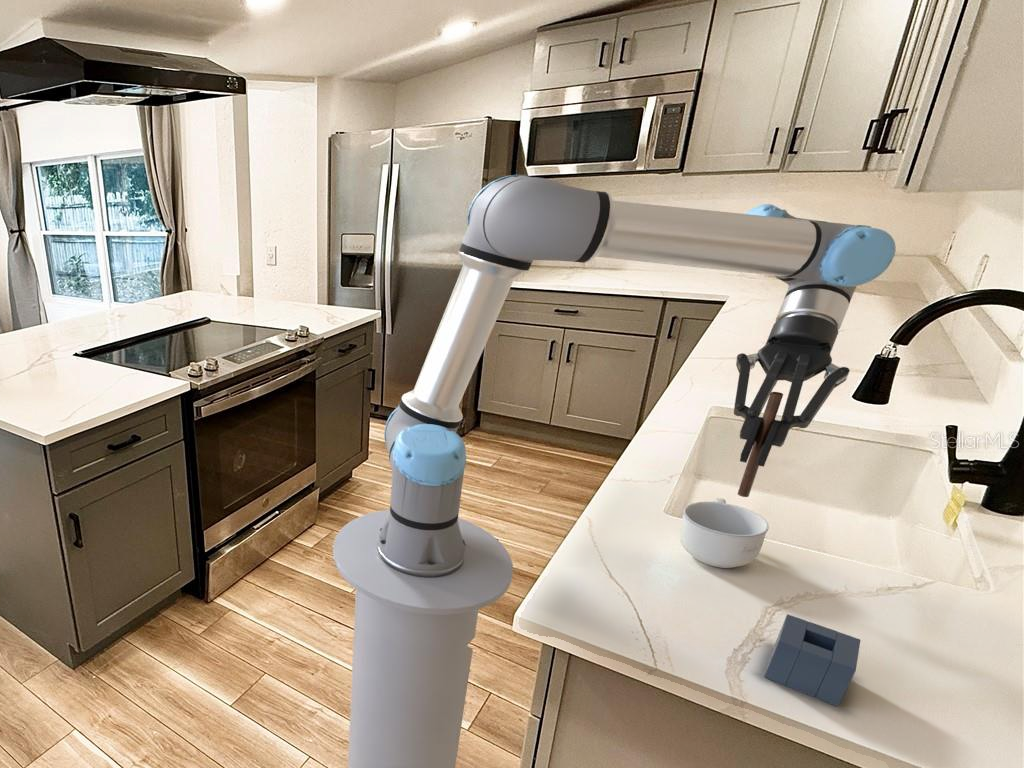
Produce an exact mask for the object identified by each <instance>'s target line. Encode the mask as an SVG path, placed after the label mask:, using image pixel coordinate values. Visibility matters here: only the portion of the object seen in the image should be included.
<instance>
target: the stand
mask: <svg viewBox="0 0 1024 768" xmlns="http://www.w3.org/2000/svg"><path fill="white" fill-rule="evenodd" d="M860 645H861V639H860V638H857V637H855V636H851V635H849V634H846V633H844V632H840V631H837V630H834V629H832V628H829V627H826V626H823V625H820V624H818V623H814V622H812V621H808V620H806V619H803V618H800V617H796V616H795V615H791V614H788V613H787V614H786V616H785V619H784V621H783V623H782V625H781V628H780V630H779V632H778V636H777V638H776V640H775V642H774V645H773V648H772V650H771V653H770V657H769V660H768V663H767V667H766V669H765V673H764V678H766V679H768V680H771V681H773V682H775V683H778V684H780V685H782V686H786V687H788V688H790V689H793V690H796V691H798V692H800V693H802V694H805V695H807V696H810V697H812V698H815V699H818V700H819V701H822V702H825V703H827V704H829V705H831V706H835V707H837V708H838V707H839V706H840V703H841V702H842V700H843V698H844V696H845V694H846V692H847V689H848V687H849V685H850V684H851V681H852V680H853V678H854V675H855V673H856V671H857V667H858V666H857V665H858V659H859V652H860Z"/></svg>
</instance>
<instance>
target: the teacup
mask: <svg viewBox="0 0 1024 768" xmlns="http://www.w3.org/2000/svg"><path fill="white" fill-rule="evenodd" d="M769 528H770V527H769V523H768V521H767V520H766V519H765V518H764V517H763V516H762V515H760V514H759V513H756V512H754V511H753V510H750V509H749V508H748V509H747V508H745V507H741V506H738V505H735V504H729V503H727V501H726V499H724V498H721V497H714V498H713V499H712V501H698V502H692V503H690V504H688V505H686V506H685V507H684V509H683V516H682V521H681V526H680V533H679V539H680V543H681V546H682V548H684V550H685V551H686V552H687V553H689V554H690V555H691V557H693V558H694V559H696V561H698V562H701V563H702V564H705V565H708V566H710V567H711V566H712V567H715V568H721V569H733V568H737V567H742V566H747V565H749V564H751V563H753V562H754V560H756V559H757V558H758V556H759V555H760V552H761V550H762V547H763V544H764V541H765V537H766V534H767V532H768V531H769Z"/></svg>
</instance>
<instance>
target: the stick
mask: <svg viewBox="0 0 1024 768" xmlns="http://www.w3.org/2000/svg"><path fill="white" fill-rule="evenodd" d="M783 397H784V393H782V392H779V391H772V392H771V393H770V396H769V398H768V400H767V402H766V404H765V405H766V406H765V408H764V411H763V415H762V417H763V418H762V421H761V424H760V427H759V430H758V433H757V437H756V440H755V442H754V445H753V447H752V450H751V452H750V455H749V457H748V459H747V462H746V466H745V470H744V472H743V475H742V478H741V481H740V485H739V488H738V491H737V496H739V497H742V498H748V497H750V494H751V492H752V491H751V490H752V489H753V488H752V487H753V485H754V482H755V479H756V476H757V473H758V470H759V468H760V466H758V465H757V464H758V460H759V456H760V454H761V451H762V449H763V446H764V444H765V441H766V439H767V436H768V434H769V431H770V429H771V426H772V424H773V421H774V420H776V417H777V414H778V412H779V408H780V406H781V402H782V399H783Z"/></svg>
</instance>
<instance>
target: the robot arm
mask: <svg viewBox="0 0 1024 768" xmlns="http://www.w3.org/2000/svg"><path fill="white" fill-rule="evenodd" d="M896 250H897V249H896V242H895V239H894V238H893V236H892V235H891V234H890V233H888V232H887V231H886V230H883V229H880V228H876V227H872V226H871V225H865V224H848V223H840V222H831V221H826V220H824V221H823V220H816V219H810V218H809V219H808V218H801V217H797V216H794V215H791V214H790V213H789V212H788V211H787V209H781V208H779V207H778V206H775V205H773V204H771V203H765V204H760V205H758V206H755V207H753V208H752V209H750V210H748V211H746V212H745V213H741V212H740V213H739V212H729V211H720V210H719V211H718V210H711V209H710V210H709V209H699V208H690V207H678V206H671V205H670V206H669V205H661V204H649V203H639V202H630V201H621V200H614V199H613V197H612V196H611V194H610V193H609V192H607V191H600V190H591V189H586V188H581V187H577V186H572V185H568V184H565V183H561V182H558V181H554V180H551V179H548V178H544V177H538V176H537V177H536V176H534V177H533V176H527V175H522V174H512V175H511V174H510V175H506V176H503V177H500V178H497V179H495V180H493V181H491V182H489V183H488V184H486V185H484V187H482V189H480V191H478V193H477V194H476V195H475V196H474V198H473V200H472V201H471V204H470V206H469V208H468V213H467V228H466V233H465V234H464V236H463V239H462V242H461V244H460V247H459V250H458V255H459V257H460V259H461V261H462V267H461V270H460V272H459V273H458V277H457V280H456V283H455V285H454V287H453V290H452V292H451V295H450V297H449V300H448V303H447V305H446V307H445V310H444V312H443V315H442V318H441V320H440V323H439V325H438V327H437V330H436V332H435V335H434V338H433V340H432V343H431V345H430V347H429V350H428V352H427V354H426V357H425V360H424V363H423V365H422V367H421V370H420V373H419V375H418V378H417V380H416V383H415V384H414V385H415V386H414V388H413V389H412V390H411V391H408V392H405V393H403V394H402V396H401V398H400V401H399V402H398V405H397V407H396V408H395V409H394V410H393V411H392V412H391V413H390V415H389V416H388V417H387V418H388V419H387V420H386V424H385V427H384V433H383V434H384V436H383V437H384V443H385V446H386V450H387V455H388V461H389V464H390V465H389V466H390V471H391V486H390V487H391V488H390V502H389V504H390V507H389V509H390V513H389V515H388V517H387V520H386V522H385V524H384V526H383V528H381V529H380V531H381V532H380V534H379V538H378V544H377V551H378V554H379V556H380V558H381V559H382V561H383V562H384V563H386V564H387V565H388V566H390V567H391V568H393V569H395V570H397V571H399V572H401V573H404V574H407V575H411V576H416V577H424V578H435V577H442V576H446V575H449V574H452V573H454V572H456V571H457V570H458V569H460V567H461V566H462V565H463V562H464V556H465V549H464V545H465V542H464V540H463V539H462V536H461V532H460V528H459V524H458V518H459V512H460V505H461V498H462V490H463V481H464V476H465V475H464V473H465V469H466V465H467V454H466V452H467V449H466V444H465V442H464V440H463V438H462V437H461V436H460V434H458V433H457V432H458V430H459V428H460V425H461V422H462V421H463V417H464V416H463V413H462V410H461V409H460V403H461V401H462V399H463V397H464V394H465V392H466V390H467V388H468V386H469V383H470V381H471V379H472V376H473V374H474V372H475V369H476V367H477V365H478V363H479V361H480V358H481V356H482V354H483V352H484V349H485V348H486V347H485V346H486V345H487V343H488V340H489V338H490V335H491V333H492V331H493V328H494V327H495V325H496V322H497V320H498V317H499V315H500V312H501V310H502V309H503V306H504V303H505V301H506V300H507V299H506V298H507V297H508V294H509V292H510V289H511V288H512V285H513V284H514V281H515V280H516V279H517V278H519V277H521V276H523V275H525V274H527V273H528V272H529V271H530V268H531V267H532V264H533V261H553V262H554V261H556V262H558V261H559V262H573V263H582V264H586V263H587V264H588V263H589V262H590V261H592V260H594V259H595V258H604V259H605V258H606V259H613V260H622V261H633V262H634V261H635V262H643V263H651V264H652V263H653V264H659V265H661V264H662V265H671V266H679V267H680V266H681V267H688V268H689V267H690V268H700V269H709V270H717V271H726V272H727V271H728V272H737V273H745V274H753V275H766V276H774V277H775V278H776V279H777V280H779V281H781V282H783V283H785V284H787V285H788V287H787V290H786V293H785V296H784V298H783V300H782V303H781V305H780V308H779V311H778V313H777V315H776V319H775V322H774V323H773V325H772V328H771V330H770V333H769V335H768V337H767V340H766V343H765V344H764V346H763V347H761V348H760V349H759V350H758V351H757V353H752V354H746V353H739V354H737V356H736V360H735V365H736V369H737V371H738V381H737V387H736V394H735V399H734V406H733V414H734V416H736V417H741V418H743V419H744V421H743V423H742V425H741V428H740V431H739V439H741V440H746V441H745V443H744V446H743V448H742V451H741V452H740V459H739V462H741V463H746V464H747V463H748V460H749V457H750V454H751V451H752V448H753V445H754V442H755V440H756V437H757V433H758V430H759V427H760V424H761V421H762V418H763V416H760V415H761V413H762V411H763V409H764V407H765V405H766V404H767V402H768V399H769V396H770V393H771V392H773V390H774V388H775V387H776V385H777V383H778V382H779V381H786V382H789V383H791V384H790V387H789V391H788V394H787V397H786V402H785V405H784V408H783V412H782V414H781V419H780V420H778V419H775V420H774V421H773V424H772V426H771V429H770V431H769V434H768V436H767V439H766V441H765V444H764V446H763V449H762V451H761V454H760V456H759V460H758V464H757V465H758V466H759V467H763V468H765V465H766V462H767V459H768V457H769V455H770V452H771V450H772V447H773V446H774V447H778V448H782V446H783V445H784V444H785V441H786V439H787V436H788V434H789V431H790V430H792V429H794V428H800V429H806V428H808V427H809V425H811V423H812V421H813V420H814V419H815V417H816V415H817V414H818V412H819V411H820V410H821V408H822V407H823V405H824V404H825V402H826V401H827V399H828V398H829V397H830V395H831V394H832V392H833V391H834V389H835V388H837V387H838V386H840V385H841V384H843V383H845V382H846V381H847V379H848V377H849V373H850V368H849V367H847V366H841V367H839V366H838V365H836V364H834V363H832V362H833V358H832V356H831V353H832V350H833V348H834V345H835V343H836V339H837V337H838V335H839V330H840V329H841V327H842V324H843V322H844V319H845V317H846V314H847V312H848V309H849V307H850V303H851V301H852V299H853V296H854V293H855V291H856V290H857V289H856V288H857V287H858V286H862V285H865V284H868V283H870V282H872V281H875V280H876V279H877V278H878V277H880V276H881V275H883V273H885V272H886V270H888V269H889V267H890V265H891V263H893V260H894V258H895V255H896ZM756 363H759V365H760V366H761V368H762V370H763V371H764V373H765V377H764V380H763V381H762V383H761V385H760V386H759V388H758V391H757V393H756V395H755V396H754V399H753V401H752V403H751V404H750V407H749V406H747V405H746V402H747V401H746V400H747V394H748V387H749V382H750V381H749V380H750V375H751V374H750V373H751V370H752V369H754V368H755V367H756ZM823 372H825V373H824V376H823V379H824V380H823V381H822V383H821V384H820V385H819V387H818V388H817V390H816V391H815V393H814V395H813V396H812V397H811V399H810V400H809V402H808V403H807V404H806V406H805V407H804V409H803V411H802V412H801V413H800V415H795V413H796V410H797V406H798V402H799V399H800V395H801V391H802V387H803V385H804V382H806V381H808V380H810V379H812V378H814V377H816V376H817V375H819V374H821V373H823ZM465 546H466V545H465Z"/></svg>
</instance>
